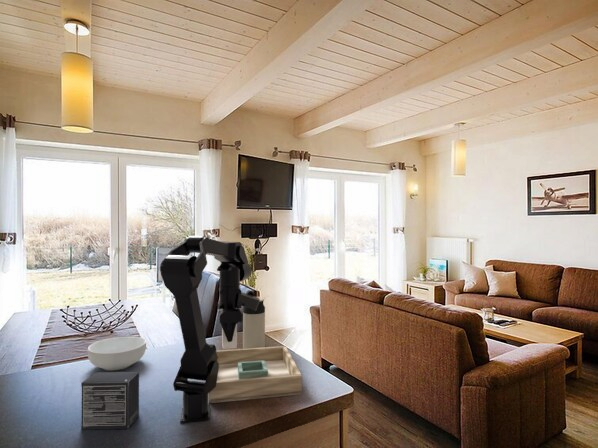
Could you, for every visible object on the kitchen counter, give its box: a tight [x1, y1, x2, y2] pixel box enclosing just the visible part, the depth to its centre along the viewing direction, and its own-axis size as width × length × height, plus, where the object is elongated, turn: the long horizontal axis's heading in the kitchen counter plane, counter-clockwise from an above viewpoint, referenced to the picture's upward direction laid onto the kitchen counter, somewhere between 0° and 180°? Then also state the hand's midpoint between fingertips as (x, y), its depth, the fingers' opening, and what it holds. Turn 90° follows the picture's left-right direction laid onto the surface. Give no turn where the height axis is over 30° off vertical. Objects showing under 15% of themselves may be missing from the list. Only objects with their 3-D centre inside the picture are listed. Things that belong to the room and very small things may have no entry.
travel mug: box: [242, 296, 266, 349], centre depth 133 cm, size 8×8×18 cm
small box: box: [80, 371, 140, 431], centre depth 83 cm, size 11×6×10 cm, turn 92°
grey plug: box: [221, 323, 238, 350], centre depth 105 cm, size 4×4×8 cm
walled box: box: [208, 345, 303, 404], centre depth 106 cm, size 24×24×5 cm
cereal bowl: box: [87, 336, 147, 372], centre depth 116 cm, size 17×17×7 cm
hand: (229, 339), depth 105 cm, fingers closed on grey plug, 4 cm apart
